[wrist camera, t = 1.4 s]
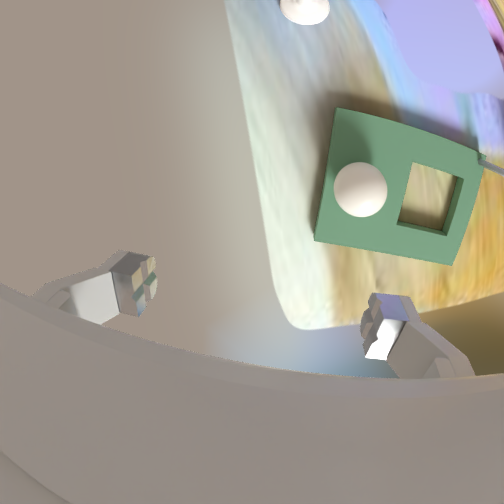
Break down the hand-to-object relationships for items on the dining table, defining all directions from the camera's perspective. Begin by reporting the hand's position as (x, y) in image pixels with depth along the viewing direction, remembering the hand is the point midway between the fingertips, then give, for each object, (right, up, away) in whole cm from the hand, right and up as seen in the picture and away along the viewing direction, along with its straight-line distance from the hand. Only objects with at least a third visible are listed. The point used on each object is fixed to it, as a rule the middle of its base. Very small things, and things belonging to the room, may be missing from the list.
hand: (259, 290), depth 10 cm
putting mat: (+16, +9, +16) cm, 24 cm away
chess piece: (+5, +26, +9) cm, 28 cm away
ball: (+9, +7, +14) cm, 18 cm away
